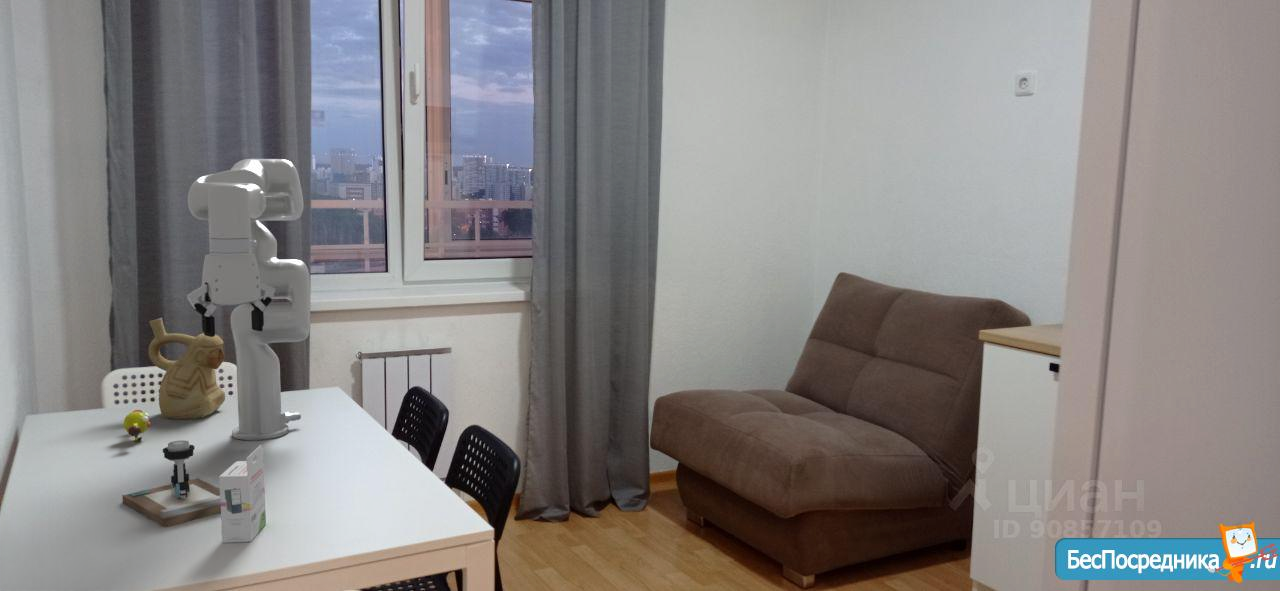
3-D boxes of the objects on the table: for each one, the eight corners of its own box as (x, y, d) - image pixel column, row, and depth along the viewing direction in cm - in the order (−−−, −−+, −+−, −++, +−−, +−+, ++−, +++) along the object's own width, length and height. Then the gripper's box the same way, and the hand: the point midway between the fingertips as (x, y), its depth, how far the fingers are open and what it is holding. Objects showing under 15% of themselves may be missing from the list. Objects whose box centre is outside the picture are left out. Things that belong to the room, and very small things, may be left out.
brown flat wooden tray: (198, 485, 184) (197, 472, 184) (241, 506, 173) (241, 492, 173) (122, 503, 174) (122, 489, 174) (164, 527, 162) (163, 512, 162)
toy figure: (150, 449, 208) (148, 419, 208) (122, 451, 206) (120, 422, 205) (152, 429, 224) (151, 402, 224) (126, 431, 222) (125, 404, 221)
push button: (199, 498, 172) (196, 446, 171) (167, 503, 169) (164, 450, 168) (194, 488, 177) (192, 437, 176) (163, 492, 175) (161, 441, 173)
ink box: (238, 524, 164) (235, 443, 162) (266, 524, 164) (264, 443, 163) (220, 543, 155) (216, 458, 154) (250, 543, 156) (247, 458, 154)
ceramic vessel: (212, 423, 231) (208, 324, 228) (134, 421, 232) (129, 322, 228) (242, 406, 248) (238, 314, 245) (169, 405, 248) (165, 313, 245)
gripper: (263, 244, 191) (266, 326, 193) (177, 248, 178) (181, 336, 180) (281, 246, 186) (284, 330, 188) (194, 250, 173) (198, 340, 175)
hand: (233, 333), depth 184 cm, fingers open, 9 cm apart
